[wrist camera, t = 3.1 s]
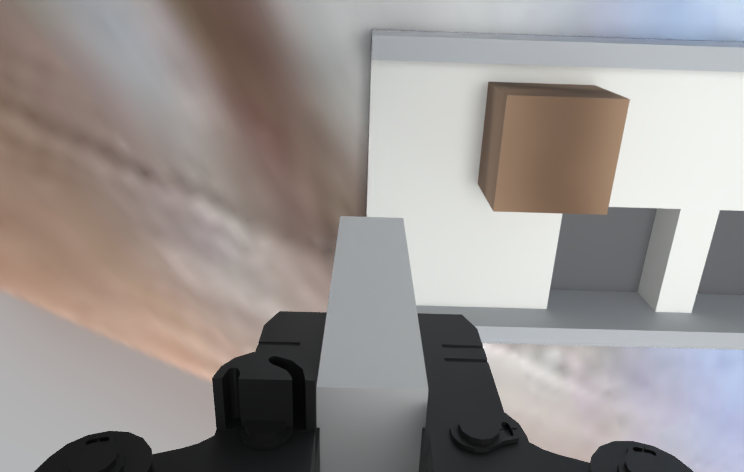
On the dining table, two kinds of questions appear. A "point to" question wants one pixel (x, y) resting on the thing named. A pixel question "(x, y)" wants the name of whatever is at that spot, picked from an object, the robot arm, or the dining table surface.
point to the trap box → (568, 231)
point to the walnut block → (550, 147)
